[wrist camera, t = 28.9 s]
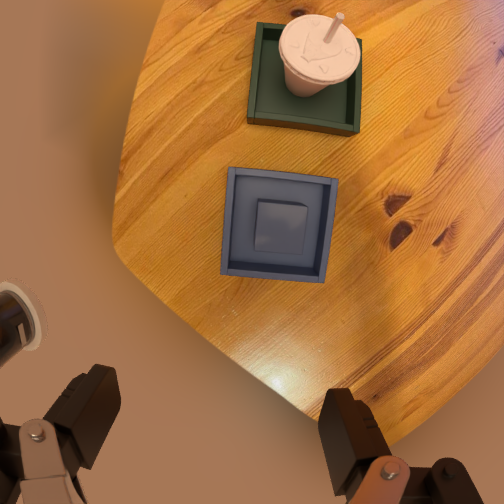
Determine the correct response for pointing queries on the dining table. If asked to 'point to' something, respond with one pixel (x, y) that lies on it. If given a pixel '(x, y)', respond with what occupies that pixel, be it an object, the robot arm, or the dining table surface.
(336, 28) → the smoothie
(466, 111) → the dining table surface
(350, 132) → the green bin
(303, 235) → the blue block
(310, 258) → the blue bin
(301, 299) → the dining table surface
